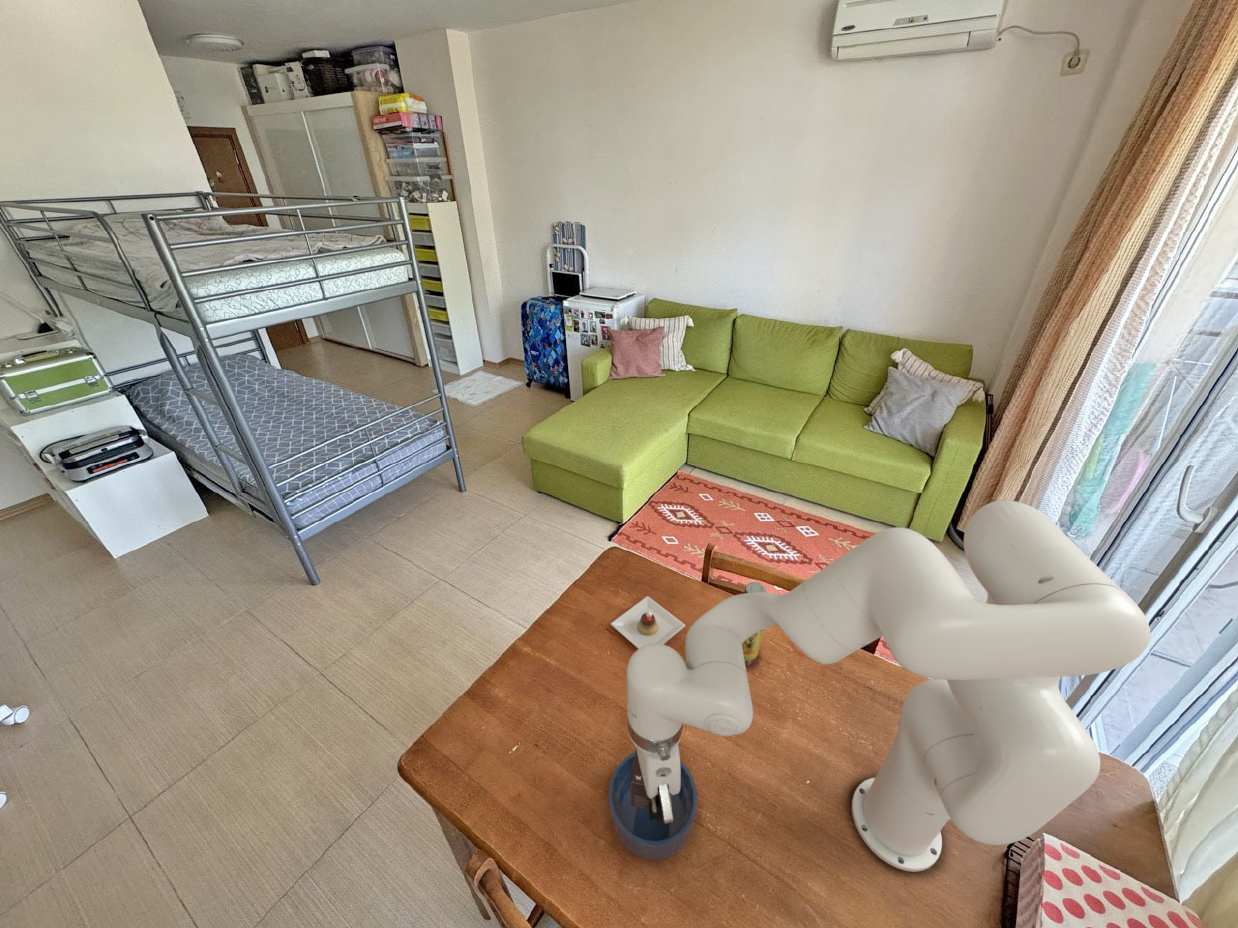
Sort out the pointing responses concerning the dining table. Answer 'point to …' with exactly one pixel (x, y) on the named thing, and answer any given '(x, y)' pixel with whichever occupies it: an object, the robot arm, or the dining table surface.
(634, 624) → the dessert
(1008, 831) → the robot arm
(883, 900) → the dining table surface
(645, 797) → the box
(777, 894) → the dining table surface
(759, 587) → the sauce bottle
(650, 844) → the bowl
